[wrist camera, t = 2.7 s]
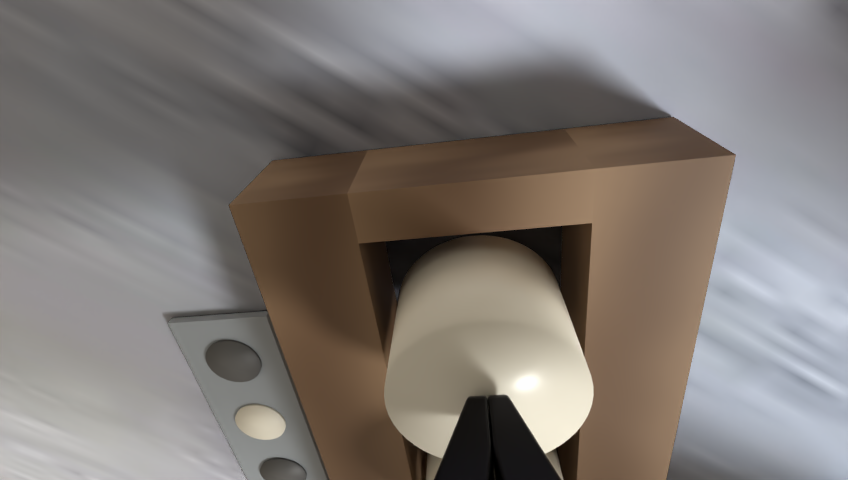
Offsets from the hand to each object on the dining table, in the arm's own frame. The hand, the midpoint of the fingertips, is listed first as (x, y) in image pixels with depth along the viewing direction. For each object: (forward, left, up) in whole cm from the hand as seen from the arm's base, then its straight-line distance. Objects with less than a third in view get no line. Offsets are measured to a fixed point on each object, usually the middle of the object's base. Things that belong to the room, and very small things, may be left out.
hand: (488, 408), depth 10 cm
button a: (0, 0, -4) cm, 4 cm away
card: (+9, +6, -6) cm, 12 cm away
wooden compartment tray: (0, +6, -6) cm, 9 cm away
